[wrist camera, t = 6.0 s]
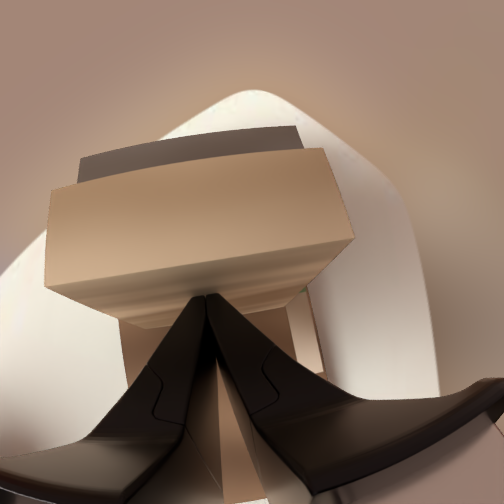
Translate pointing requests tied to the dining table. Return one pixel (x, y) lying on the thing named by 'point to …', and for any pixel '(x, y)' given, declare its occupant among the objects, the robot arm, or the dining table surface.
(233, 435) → the gauge track
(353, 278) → the dining table surface
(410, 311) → the dining table surface
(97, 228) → the pad
